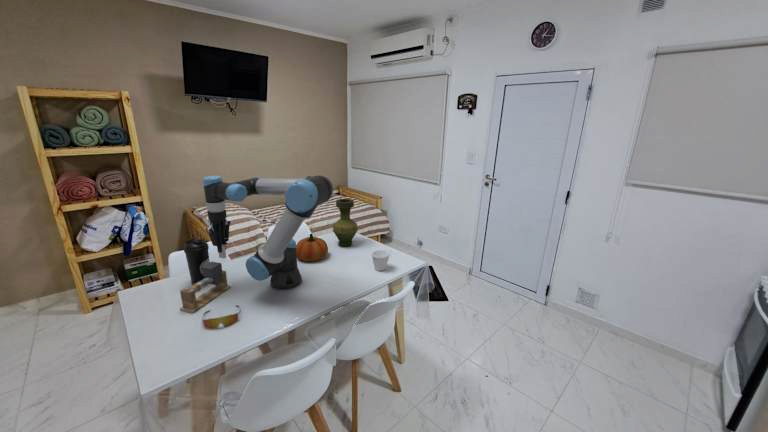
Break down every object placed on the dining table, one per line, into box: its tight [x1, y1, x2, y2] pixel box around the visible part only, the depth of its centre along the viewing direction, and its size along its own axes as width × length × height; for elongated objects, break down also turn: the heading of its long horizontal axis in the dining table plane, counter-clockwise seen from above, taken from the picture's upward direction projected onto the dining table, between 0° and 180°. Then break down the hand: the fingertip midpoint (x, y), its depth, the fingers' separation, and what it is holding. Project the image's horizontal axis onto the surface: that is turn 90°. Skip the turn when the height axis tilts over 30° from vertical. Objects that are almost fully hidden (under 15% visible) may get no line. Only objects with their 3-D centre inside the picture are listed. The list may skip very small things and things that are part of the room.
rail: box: [179, 269, 232, 314], centre depth 140 cm, size 22×7×9 cm, turn 165°
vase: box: [332, 198, 358, 249], centre depth 200 cm, size 16×16×30 cm
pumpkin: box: [296, 233, 329, 262], centre depth 183 cm, size 19×19×15 cm
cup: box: [370, 249, 390, 272], centre depth 172 cm, size 10×10×9 cm
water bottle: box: [183, 237, 211, 286], centre depth 150 cm, size 10×10×23 cm
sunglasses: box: [201, 305, 242, 329], centre depth 128 cm, size 14×15×5 cm
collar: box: [201, 261, 223, 286], centre depth 143 cm, size 6×5×9 cm
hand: (222, 257), depth 148 cm, fingers closed
